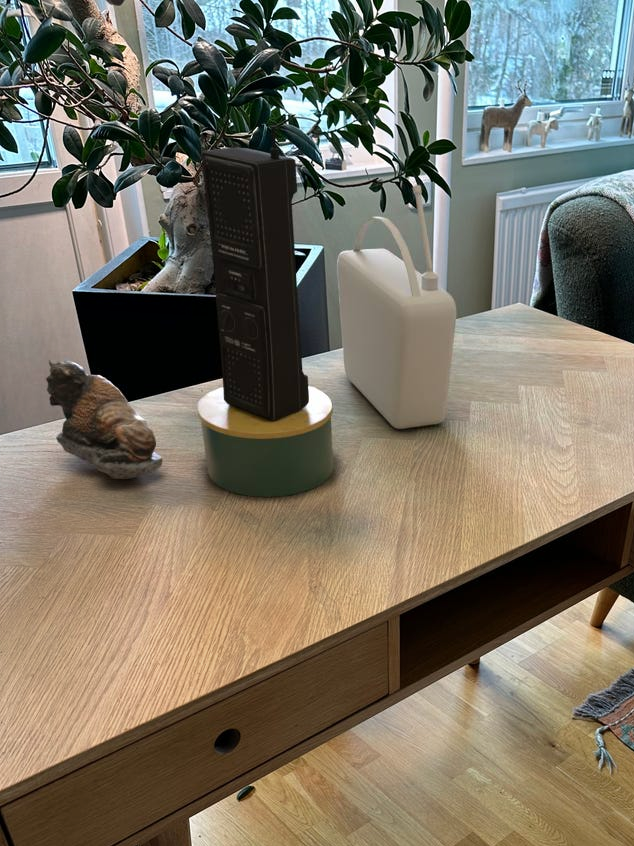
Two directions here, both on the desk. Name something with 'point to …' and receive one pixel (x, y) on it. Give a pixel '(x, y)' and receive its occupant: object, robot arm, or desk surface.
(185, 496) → the desk surface
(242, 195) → the portable radio
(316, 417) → the tin
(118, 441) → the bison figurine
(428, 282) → the white watering can
